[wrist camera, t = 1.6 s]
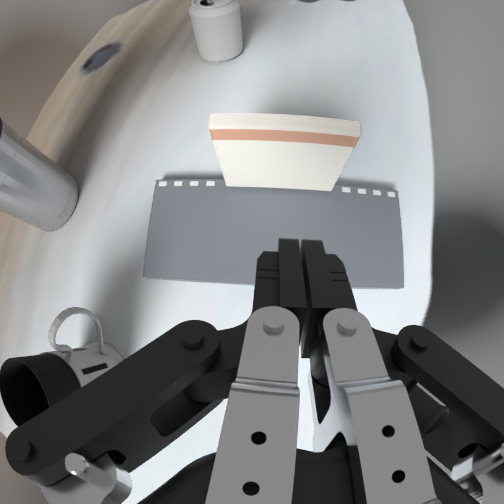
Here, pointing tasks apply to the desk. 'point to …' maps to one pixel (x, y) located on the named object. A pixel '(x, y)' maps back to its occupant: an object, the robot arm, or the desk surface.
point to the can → (217, 28)
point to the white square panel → (282, 149)
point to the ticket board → (270, 230)
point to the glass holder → (53, 372)
